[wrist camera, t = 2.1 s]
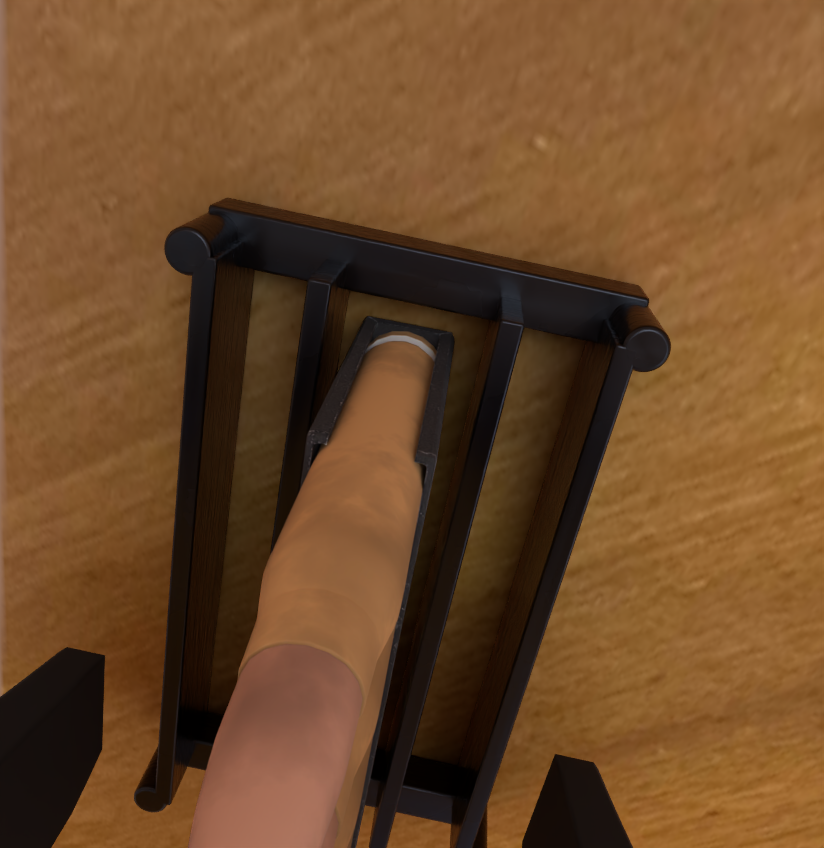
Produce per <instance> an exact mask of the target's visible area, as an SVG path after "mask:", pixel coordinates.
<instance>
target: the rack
mask: <svg viewBox="0 0 824 848" xmlns="http://www.w3.org/2000/svg"><path fill="white" fill-rule="evenodd" d="M164 247H165V255H166V258H167V260H168V262H169V263H170V265H171V266H172V267H173V268H174V269H175V270H177V271H178V272H180V273H182V274H185V275H190V276H192V286H191V300H190V314H189V327H188V341H187V355H186V369H185V383H184V397H183V411H182V425H181V439H180V452H179V466H178V480H177V494H176V508H175V522H174V536H173V550H172V564H171V577H170V591H169V605H168V619H167V633H166V647H165V661H164V675H163V689H162V702H161V716H160V730H159V744H158V747H157V749H156V751H155V753H154V755H153V757H152V759H151V761H150V763H149V765H148V767H147V769H146V771H145V773H144V775H143V777H142V779H141V781H140V783H139V785H138V787H137V789H136V791H135V793H134V801H135V803H136V804H137V805H138V806H139V807H140V808H141V809H143V810H145V811H148V812H159V811H161V810H163V809H164V808H165V807H166V806H167V805H170V804H171V803H172V800H173V798H174V796H175V794H176V791H177V789H178V787H179V785H180V782H181V780H182V778H183V775H184V773H185V771H186V769H187V767H192V768H197V769H201V770H206V769H207V765H208V761H209V758H210V755H211V751H212V748H213V744H214V741H215V738H216V735H217V732H218V730H219V727H220V725H221V722H222V719H223V717H224V715H219V714H214V713H210V712H207V710H208V700H209V691H210V682H211V672H212V663H213V653H214V644H215V635H216V625H217V616H218V606H219V597H220V587H221V578H222V569H223V559H224V550H225V540H226V531H227V522H228V512H229V503H230V493H231V484H232V474H233V465H234V456H235V446H236V437H237V427H238V418H239V409H240V399H241V390H242V380H243V371H244V362H245V352H246V343H247V333H248V324H249V314H250V305H251V296H252V286H253V277H254V270H258V271H262V272H267V273H272V274H276V275H281V276H286V277H290V278H295V279H300V280H304V281H307V289H306V296H305V303H304V311H303V318H302V325H301V333H300V340H299V347H298V355H297V362H296V369H295V377H294V384H293V391H292V398H291V406H290V413H289V420H288V428H287V435H286V442H285V450H284V457H283V464H282V472H281V479H280V486H279V494H278V501H277V508H276V516H275V523H274V530H273V537H272V545H271V552H270V555H271V553H272V551H273V549H274V546H275V544H276V542H277V540H278V538H279V535H280V533H281V531H282V529H283V527H284V524H285V522H286V520H287V518H288V516H289V513H290V511H291V509H292V507H293V505H294V502H295V500H296V498H297V496H298V494H299V491H300V487H301V479H302V471H303V463H304V455H305V448H306V440H307V434H308V432H309V430H310V428H311V426H312V424H313V422H314V420H315V418H316V416H317V414H318V412H319V410H320V408H321V406H322V404H323V402H324V400H325V398H326V396H327V394H328V392H329V390H330V388H331V386H332V384H333V382H334V380H335V378H336V371H337V365H338V359H339V353H340V347H341V340H342V334H343V328H344V322H345V316H346V309H347V303H348V297H349V291H350V290H351V291H356V292H361V293H365V294H370V295H375V296H379V297H384V298H389V299H393V300H398V301H403V302H407V303H412V304H417V305H421V306H426V307H431V308H435V309H440V310H445V311H449V312H454V313H459V314H463V315H468V316H473V317H477V318H482V319H487V320H490V324H489V328H488V332H487V336H486V340H485V344H484V348H483V353H482V357H481V361H480V365H479V369H478V373H477V377H476V381H475V385H474V389H473V393H472V398H471V402H470V406H469V410H468V414H467V418H466V422H465V426H464V430H463V434H462V439H461V443H460V447H459V451H458V455H457V459H456V463H455V467H454V471H453V475H452V479H451V484H450V488H449V492H448V496H447V500H446V504H445V508H444V512H443V516H442V520H441V524H440V529H439V533H438V537H437V541H436V545H435V549H434V553H433V557H432V561H431V565H430V570H429V574H428V578H427V582H426V586H425V590H424V594H423V598H422V602H421V606H420V610H419V615H418V619H417V623H416V627H415V631H414V635H413V639H412V643H411V647H410V651H409V656H408V660H407V664H406V668H405V672H404V676H403V680H402V684H401V688H400V692H399V696H398V701H397V705H396V709H395V713H394V717H393V721H392V725H391V729H390V733H389V737H388V741H387V746H386V750H385V751H384V750H380V749H376V753H375V758H374V763H373V768H372V773H371V777H370V782H369V787H368V792H367V796H366V801H365V805H366V806H371V807H375V811H374V818H373V824H372V830H371V837H370V843H369V848H386V847H387V844H388V840H389V836H390V832H391V828H392V825H393V821H394V817H395V813H396V812H398V813H403V814H407V815H412V816H416V817H421V818H426V819H430V820H435V821H439V822H444V823H448V824H451V837H450V848H487V803H488V800H489V797H490V794H491V791H492V788H493V785H494V782H495V779H496V776H497V773H498V770H499V767H500V764H501V761H502V758H503V755H504V752H505V749H506V746H507V743H508V740H509V737H510V734H511V731H512V728H513V725H514V722H515V720H516V717H517V714H518V711H519V708H520V705H521V702H522V699H523V696H524V693H525V690H526V687H527V684H528V681H529V678H530V675H531V672H532V669H533V666H534V663H535V660H536V657H537V654H538V651H539V648H540V645H541V642H542V639H543V636H544V633H545V630H546V627H547V624H548V621H549V618H550V615H551V612H552V609H553V606H554V603H555V600H556V597H557V594H558V591H559V588H560V585H561V582H562V579H563V576H564V573H565V570H566V567H567V564H568V561H569V558H570V555H571V552H572V549H573V546H574V543H575V540H576V537H577V534H578V531H579V529H580V526H581V523H582V520H583V517H584V514H585V511H586V508H587V505H588V502H589V499H590V496H591V493H592V490H593V487H594V484H595V481H596V478H597V475H598V472H599V469H600V466H601V463H602V460H603V457H604V454H605V451H606V448H607V445H608V442H609V439H610V436H611V433H612V430H613V427H614V424H615V421H616V418H617V415H618V412H619V409H620V406H621V403H622V400H623V397H624V394H625V391H626V388H627V385H628V382H629V379H630V376H631V373H632V370H635V371H638V372H648V371H652V370H655V369H657V368H659V367H660V366H661V365H663V364H664V363H665V361H666V360H667V358H668V357H669V354H670V351H671V342H670V339H669V337H668V335H667V334H666V332H665V331H664V329H663V328H662V326H661V325H660V323H659V322H658V320H657V319H656V317H655V316H654V315H653V313H652V312H651V310H650V309H649V307H648V304H649V298H648V297H647V296H646V294H645V293H644V291H643V290H642V288H641V287H640V286H638V285H634V284H629V283H624V282H620V281H615V280H610V279H606V278H601V277H596V276H591V275H587V274H582V273H577V272H573V271H568V270H563V269H559V268H554V267H549V266H545V265H540V264H535V263H531V262H526V261H521V260H517V259H512V258H507V257H502V256H498V255H493V254H488V253H484V252H479V251H474V250H470V249H465V248H460V247H456V246H451V245H446V244H442V243H437V242H432V241H428V240H423V239H418V238H414V237H409V236H404V235H399V234H395V233H390V232H385V231H381V230H376V229H371V228H367V227H362V226H357V225H353V224H348V223H343V222H339V221H334V220H329V219H325V218H320V217H315V216H310V215H306V214H301V213H296V212H292V211H287V210H282V209H278V208H273V207H268V206H264V205H259V204H254V203H250V202H245V201H240V200H236V199H231V198H225V199H223V200H221V201H219V202H216V203H214V204H212V205H210V206H209V212H208V213H207V214H205V215H203V216H201V217H199V218H196V219H194V220H192V221H190V222H188V223H186V224H184V225H182V226H180V227H178V228H176V229H174V230H172V231H171V232H170V233H169V235H168V236H167V238H166V241H165V246H164ZM524 328H529V329H533V330H538V331H543V332H547V333H552V334H557V335H561V336H566V337H571V338H575V339H580V340H585V341H586V343H585V346H584V349H583V353H582V356H581V359H580V363H579V366H578V369H577V373H576V376H575V379H574V382H573V386H572V389H571V392H570V396H569V399H568V402H567V406H566V409H565V412H564V415H563V419H562V422H561V425H560V429H559V432H558V435H557V439H556V442H555V445H554V449H553V452H552V455H551V458H550V462H549V465H548V468H547V472H546V475H545V478H544V482H543V485H542V488H541V492H540V495H539V498H538V501H537V505H536V508H535V511H534V515H533V518H532V521H531V525H530V528H529V531H528V534H527V538H526V541H525V544H524V548H523V551H522V554H521V558H520V561H519V564H518V568H517V571H516V574H515V577H514V581H513V584H512V587H511V591H510V594H509V597H508V601H507V604H506V607H505V611H504V614H503V617H502V620H501V624H500V627H499V630H498V634H497V637H496V640H495V644H494V647H493V650H492V654H491V657H490V660H489V663H488V667H487V670H486V673H485V677H484V680H483V683H482V687H481V690H480V693H479V696H478V700H477V703H476V706H475V710H474V713H473V716H472V720H471V723H470V726H469V730H468V733H467V736H466V739H465V743H464V746H463V749H462V753H461V756H460V759H459V763H458V766H453V765H448V764H444V763H439V762H435V761H430V760H426V759H421V758H416V757H412V756H411V753H412V749H413V745H414V742H415V738H416V734H417V730H418V726H419V723H420V719H421V715H422V711H423V708H424V704H425V700H426V696H427V692H428V689H429V685H430V681H431V677H432V673H433V670H434V666H435V662H436V658H437V655H438V651H439V647H440V643H441V639H442V636H443V632H444V628H445V624H446V621H447V617H448V613H449V609H450V605H451V602H452V598H453V594H454V590H455V587H456V583H457V579H458V575H459V571H460V568H461V564H462V560H463V556H464V553H465V549H466V545H467V541H468V537H469V534H470V530H471V526H472V522H473V519H474V515H475V511H476V507H477V503H478V500H479V496H480V492H481V488H482V485H483V481H484V477H485V473H486V469H487V466H488V462H489V458H490V454H491V451H492V447H493V443H494V439H495V435H496V432H497V428H498V424H499V420H500V416H501V413H502V409H503V405H504V401H505V398H506V394H507V390H508V386H509V382H510V379H511V375H512V371H513V367H514V364H515V360H516V356H517V352H518V348H519V345H520V341H521V337H522V333H523V330H524Z"/></svg>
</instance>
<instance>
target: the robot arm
mask: <svg viewBox="0 0 824 848" xmlns="http://www.w3.org/2000/svg"><path fill="white" fill-rule="evenodd" d="M104 667H105V655H101V654H96V653H91V652H87V651H82V650H78V649H73V648H69V647H67V648H65V649H63V650H61V651H60V652H58V653H57V654H56V655H55V656H53V657H52V658H51V659H49V660H48V661H47V662H45V663H44V664H43V665H42V666H40V667H39V668H38V669H36V670H35V671H34V672H32V673H31V674H30V675H29V676H27V677H26V678H25V679H23V680H22V681H21V682H19V683H18V684H17V685H15V686H14V687H13V688H12V689H10V690H9V691H8V692H6V693H5V694H4V695H2V696H1V697H0V848H51V847H52V845H53V844H54V842H55V840H56V839H57V837H58V835H59V834H60V832H61V830H62V829H63V827H64V825H65V824H66V822H67V820H68V819H69V817H70V815H71V814H72V812H73V810H74V808H75V806H76V804H77V801H78V799H79V797H80V795H81V793H82V791H83V789H84V787H85V785H86V783H87V781H88V779H89V776H90V774H91V772H92V770H93V768H94V766H95V763H96V761H97V759H98V757H99V755H100V753H101V750H102V737H103V702H104ZM522 848H633V847H632V844H631V842H630V840H629V838H628V836H627V834H626V832H625V829H624V827H623V825H622V823H621V821H620V818H619V816H618V814H617V812H616V810H615V807H614V805H613V803H612V800H611V798H610V796H609V794H608V791H607V789H606V787H605V784H604V782H603V780H602V777H601V775H600V773H599V770H598V768H597V767H596V765H595V764H594V762H589V761H585V760H580V759H575V758H571V757H566V756H562V755H557V754H555V756H554V759H553V761H552V764H551V767H550V769H549V772H548V775H547V777H546V780H545V783H544V785H543V788H542V791H541V793H540V796H539V799H538V801H537V804H536V807H535V809H534V812H533V815H532V817H531V820H530V823H529V825H528V828H527V831H526V833H525V836H524V839H523V841H522Z"/></svg>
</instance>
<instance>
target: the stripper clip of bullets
mask: <svg viewBox="0 0 824 848" xmlns="http://www.w3.org/2000/svg"><path fill="white" fill-rule="evenodd" d="M454 342H455V341H454V336H453V334H452V332H446V331H441V330H436V329H431V328H426V327H421V326H416V325H411V324H405V323H400V322H395V321H390V320H385V319H380V318H375V317H370V316H368V317H367V318H366V319H365V320H364V321H363V323H362V325H361V327H360V329H359V331H358V333H357V335H356V337H355V339H354V341H353V343H352V345H351V347H350V349H349V351H348V353H347V356H346V358H345V360H344V362H343V364H342V366H341V368H340V370H339V372H338V374H337V376H336V378H335V380H334V382H333V384H332V386H331V388H330V390H329V392H328V394H327V396H326V398H325V400H324V402H323V404H322V406H321V408H320V410H319V412H318V414H317V416H316V418H315V420H314V422H313V424H312V426H311V428H310V430H309V432H308V434H307V440H306V448H305V455H304V463H303V471H302V479H301V487H300V491H299V494H298V496H297V498H296V500H295V502H294V505H293V507H292V509H291V511H290V513H289V516H288V518H287V520H286V522H285V524H284V527H283V529H282V531H281V533H280V535H279V538H278V540H277V542H276V544H275V546H274V549H273V551H272V553H271V555H270V557H269V560H268V562H267V565H266V568H265V570H264V573H263V578H262V584H261V591H260V599H259V607H258V615H257V621H256V623H255V626H254V629H253V632H252V634H251V637H250V640H249V643H248V645H247V648H246V651H245V654H244V657H243V659H242V662H241V665H240V668H239V671H238V682H237V684H236V687H235V689H234V692H233V694H232V697H231V699H230V702H229V704H228V707H227V709H226V712H225V714H224V717H223V719H222V722H221V725H220V727H219V730H218V732H217V735H216V738H215V741H214V744H213V748H212V751H211V755H210V758H209V761H208V765H207V769H206V772H205V776H204V779H203V783H202V787H201V790H200V794H199V798H198V801H197V805H196V810H195V814H194V819H193V824H192V829H191V834H190V839H189V845H188V848H356V844H357V839H358V835H359V830H360V825H361V820H362V815H363V811H364V806H365V801H366V796H367V792H368V787H369V782H370V777H371V773H372V768H373V763H374V758H375V753H376V749H377V744H378V739H379V734H380V730H381V725H382V720H383V715H384V710H385V706H386V701H387V696H388V691H389V687H390V682H391V677H392V672H393V667H394V663H395V658H396V653H397V648H398V644H399V639H400V634H401V629H402V625H403V620H404V615H405V610H406V605H407V601H408V596H409V591H410V586H411V582H412V577H413V572H414V567H415V562H416V558H417V553H418V548H419V543H420V539H421V534H422V529H423V524H424V519H425V515H426V510H427V505H428V500H429V496H430V491H431V486H432V481H433V477H434V472H435V467H436V462H437V456H438V449H439V443H440V436H441V429H442V423H443V416H444V409H445V402H446V396H447V389H448V382H449V376H450V369H451V362H452V355H453V349H454Z"/></svg>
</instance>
